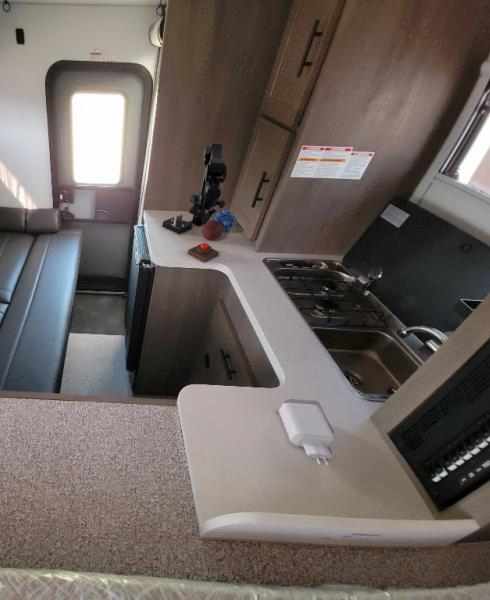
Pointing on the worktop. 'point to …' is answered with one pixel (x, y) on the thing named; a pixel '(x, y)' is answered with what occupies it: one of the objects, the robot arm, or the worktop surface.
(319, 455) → the charger
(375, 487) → the worktop surface
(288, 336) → the worktop surface
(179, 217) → the dial
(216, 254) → the block
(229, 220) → the blue bumpy cluster
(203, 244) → the power button
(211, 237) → the decorative ball
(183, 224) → the dial panel
